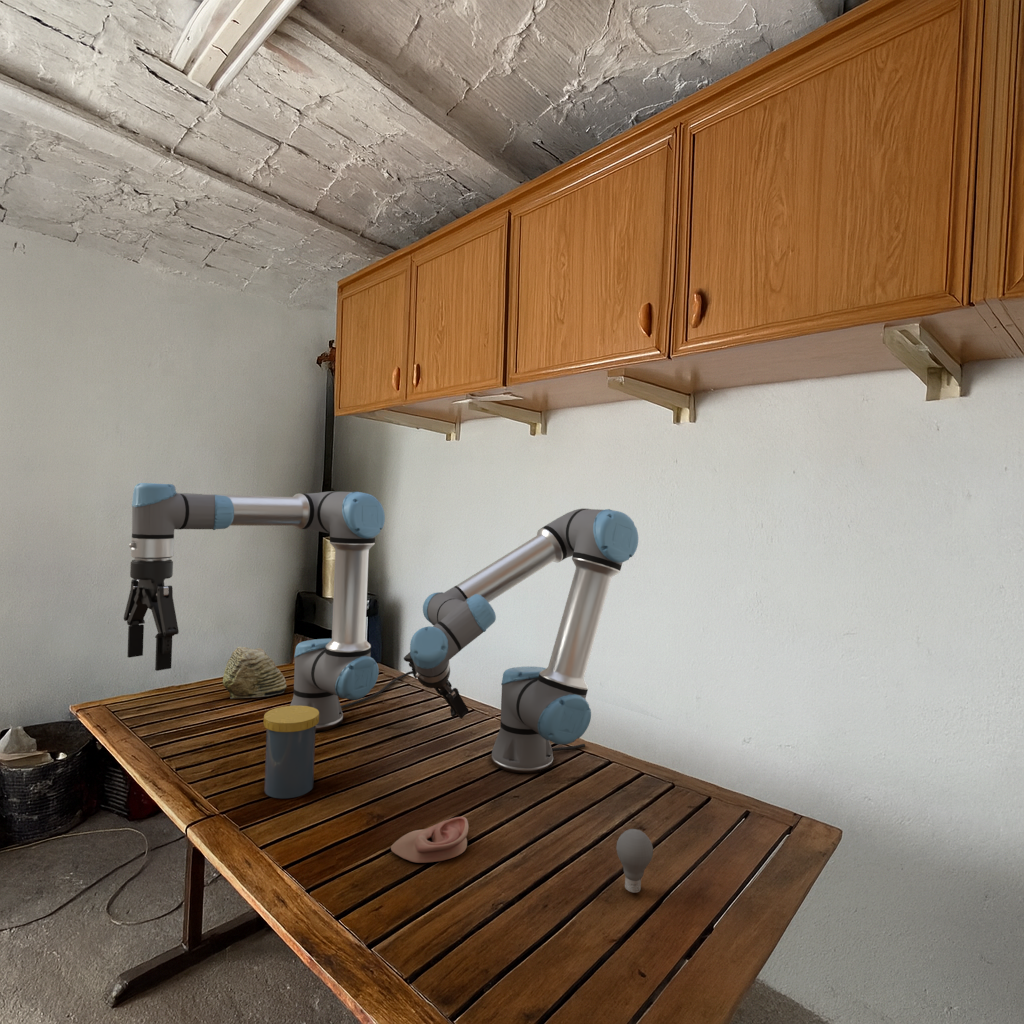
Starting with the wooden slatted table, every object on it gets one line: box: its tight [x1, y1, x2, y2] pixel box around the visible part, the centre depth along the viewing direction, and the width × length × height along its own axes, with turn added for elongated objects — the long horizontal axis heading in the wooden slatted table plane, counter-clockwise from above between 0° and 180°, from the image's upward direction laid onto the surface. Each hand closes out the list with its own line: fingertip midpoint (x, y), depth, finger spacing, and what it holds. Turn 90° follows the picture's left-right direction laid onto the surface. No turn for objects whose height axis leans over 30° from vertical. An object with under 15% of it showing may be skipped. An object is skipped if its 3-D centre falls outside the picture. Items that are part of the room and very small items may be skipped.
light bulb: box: [615, 828, 654, 894], centre depth 106 cm, size 6×6×10 cm
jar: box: [263, 725, 317, 799], centre depth 137 cm, size 10×10×16 cm
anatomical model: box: [390, 816, 469, 864], centre depth 116 cm, size 13×4×12 cm
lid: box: [262, 705, 319, 732], centre depth 137 cm, size 11×11×2 cm
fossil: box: [222, 646, 288, 699], centre depth 198 cm, size 9×18×15 cm, turn 132°
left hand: (148, 662), depth 129 cm, fingers open, 13 cm apart
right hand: (437, 693), depth 156 cm, fingers open, 13 cm apart
